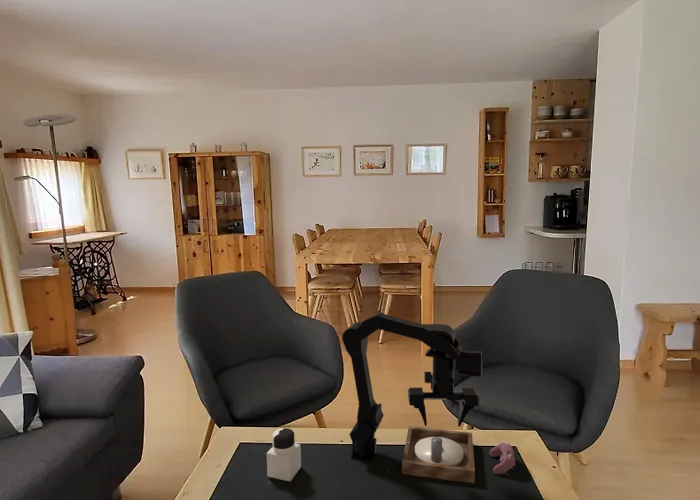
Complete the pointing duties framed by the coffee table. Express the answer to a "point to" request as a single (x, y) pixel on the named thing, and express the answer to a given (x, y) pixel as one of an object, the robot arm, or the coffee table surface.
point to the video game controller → (503, 457)
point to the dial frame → (454, 473)
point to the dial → (439, 451)
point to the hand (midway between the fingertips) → (442, 425)
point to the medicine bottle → (283, 455)
